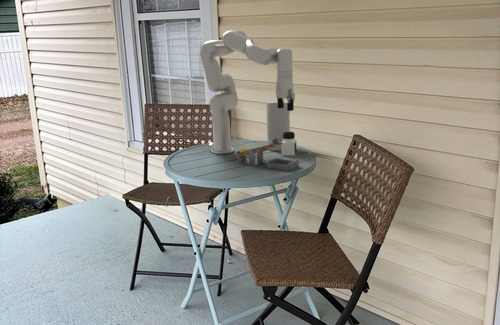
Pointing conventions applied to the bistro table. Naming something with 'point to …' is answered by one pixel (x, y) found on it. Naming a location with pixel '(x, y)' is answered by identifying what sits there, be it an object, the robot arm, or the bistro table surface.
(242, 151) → the ball
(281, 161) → the tray
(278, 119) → the cylinder vase
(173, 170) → the bistro table surface
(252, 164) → the stand
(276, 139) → the lever
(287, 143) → the medicine bottle
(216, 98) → the robot arm
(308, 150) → the bistro table surface
